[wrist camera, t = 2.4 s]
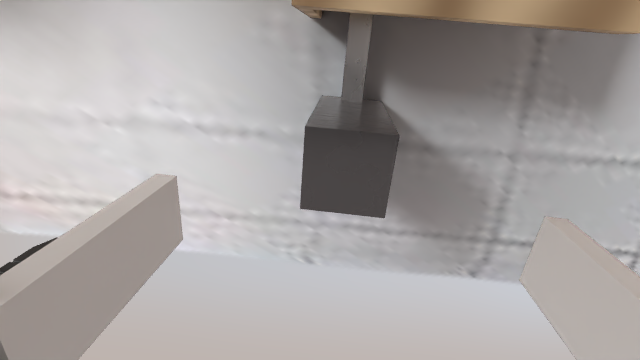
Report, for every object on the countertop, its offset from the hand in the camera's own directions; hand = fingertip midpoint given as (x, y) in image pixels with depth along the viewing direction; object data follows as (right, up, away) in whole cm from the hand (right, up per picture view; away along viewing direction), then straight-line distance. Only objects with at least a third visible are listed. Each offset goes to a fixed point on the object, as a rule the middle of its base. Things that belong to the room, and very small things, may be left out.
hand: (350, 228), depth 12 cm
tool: (+2, +13, +10) cm, 17 cm away
